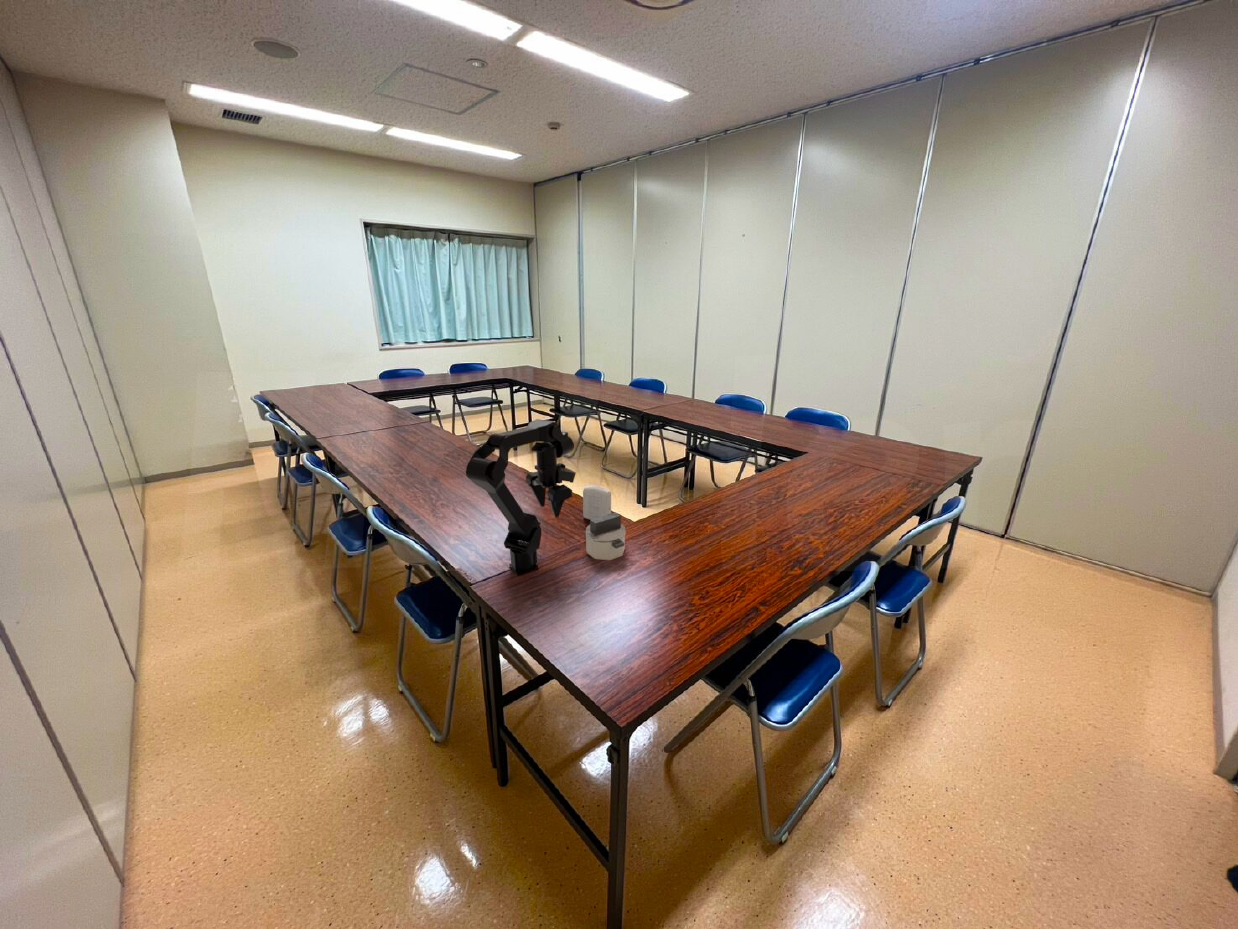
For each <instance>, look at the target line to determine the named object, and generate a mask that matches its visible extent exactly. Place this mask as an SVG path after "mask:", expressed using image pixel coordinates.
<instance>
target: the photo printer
mask: <svg viewBox="0 0 1238 929" xmlns="http://www.w3.org/2000/svg"><path fill="white" fill-rule="evenodd" d="M582 503H583V504H582V511H583V513H582V514H583V515H582V516H583V518H585V519H587V520H589V521H590V520H591V519H594V518H597V517H601V516H604V515H607V514H610V513H612V492H611V491H610V490H609V489H607V488H606V487H604V486H600V485H596V484H595V485H594V484H593V485H591V484H590V485H586V486H584V487H583V490H582Z"/></svg>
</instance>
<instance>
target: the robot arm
mask: <svg viewBox="0 0 1238 929" xmlns="http://www.w3.org/2000/svg"><path fill="white" fill-rule="evenodd" d="M531 443H535V444H534V445H533V446H532V447H531V449H530V451H532V452H536V453H535V454H536V465H534V469H535V470H536V471H534V472H533V471H532V472H529V473H527V475H526V476H525V483H526V484H528V487H529V489H530V490H531V492H532V493H533V495H534V497H535V499H536V500H537V503H538V504H539V505H540V507H541V508H542V507H545V505H546V495H547V497H548V498H547V501H548V503H549V506H550V508H551V509H550V510H551V511H552V512H553V516H554V518H559V517H560V514H561V511H562V508H563V504H564V503H565V501H567V500H569V499H570V498H572V497H573V490H572V489H571V488H570V487H568V486H567V485H565V484H562V483H563V482H567V483H571V484H572V483H574V480H575V478H576V471H575V470H574V471H573V470H572V469H570V468H567V467H566V465H565V464H564V463H561V462H558V461H557V460H558V459H559V458H562V457H564V456H566V455H569V454H570V453H572V452H573V450H574V448H575V443H574V442H573V439H572V438H571V437H570V436H569V433H568V432H566V431H562V430H561V428H560V426H558V424H557V422H556V421H552V420H545V419H539V418H538V419H537V418H536V419H535V420H532V421H530V422H529V423H528V425H527V426H525V427H524V426H523V427H521V428H517V429H516V428H515V429H512V430H508V431H504V432H499V433H492V434H490V436H489V437H488V439H487V441H486V442H484V444H482V445H481V446H480V447H479V448H477V449H476V450H475V451H474V453H473V454H472V456H471V457H470V459H469V461H468V463H467V464H466V467H465V474H466V477H467V479H468V480H470V481H471V482H472V483H473V484H474V485H475V486H477V487H478V488H480V489H482V490H484V491H485V492H487V494H488V495H489V497H490V498H491V500H492V501H493V503H494V504H495V505H496V506H497V508H498V509H499V512H501V514H502V516H503V517H504V518H505V519H506V521H507V522H508V525H507V530H508V532H507V535H506V537H505V539H504V541H503V546H504V548H505V549H508V550H509V554H510V563H509V564H508V566H509V568H510V569H511V570H512V571H513V572H514V573H515V574H516V575H517V576H523V574H528V573H530V572H533V571H535V570H538V569H539V565H537V564H538V552H537V550H539V549H540V545H541V540H542V539H541V538H542V532H543V531H542V527H541V524H542V523H541V522H540V521H539V520H538V517H537V516H536V515H535V514H531V513H527V512H525V511H523V509H522V508H521V506H520V504H519V503H518V501H517V500H516V499H515V497H514V495H513V494H512V492H511V491H510V489H509V488H508V486H507V485H506V483H505V481H506V474H505V471H506V469H507V467H508V465H509V453H510V450H511V449H513V448H518V447H522V446H524V445H528V444H531ZM496 450H497V451H498V457H497V460H494V459H493V460H492V459H489V458H488V457H489V456H491V454H493V453H494V452H495V451H496ZM487 458H488V459H487ZM557 484H559V485H557ZM546 491H547V492H546Z"/></svg>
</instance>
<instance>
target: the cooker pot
mask: <svg viewBox="0 0 1238 929" xmlns="http://www.w3.org/2000/svg"><path fill="white" fill-rule="evenodd" d="M585 542H586V543H585V544H586V546H585V547H586V551H585V552H586V553H587V554H588V555H589V556H591V557H592V558H593V559H594V560H603V561H612V560H614V559H617V558H619V557H622V556H623V555H624V553H625V552H624V551H625V550H626V535H625V536H624V537H623V538H622V539H620V540H617V541H614V542H596V541H593V540H591V539H589V538H588V537H587V536H586V535H585Z"/></svg>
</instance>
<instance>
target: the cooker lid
mask: <svg viewBox="0 0 1238 929" xmlns="http://www.w3.org/2000/svg"><path fill="white" fill-rule="evenodd" d="M621 518H622V515H621V514H620V513H617V512H611V513H610V514H607V515H604V516H601V517H597V518H594V519H591V520H590V519H589V525H587V526H586V528H585V537H586V536H587V537H588V538H589V539H591V540H593V541H596V542H614V541H617V540H620V539H622V538H623V537H624V536H625V537H626V534H627V533H626V531H627V530H626V527H625V526H624V525H623V524H622V521H621V520H622V519H621Z"/></svg>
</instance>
